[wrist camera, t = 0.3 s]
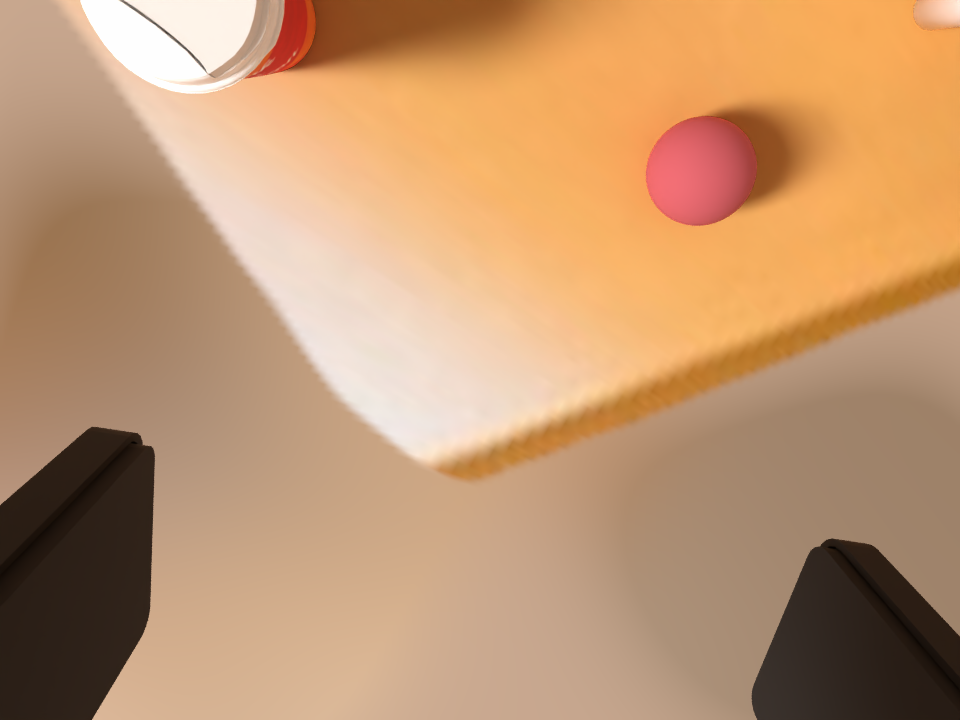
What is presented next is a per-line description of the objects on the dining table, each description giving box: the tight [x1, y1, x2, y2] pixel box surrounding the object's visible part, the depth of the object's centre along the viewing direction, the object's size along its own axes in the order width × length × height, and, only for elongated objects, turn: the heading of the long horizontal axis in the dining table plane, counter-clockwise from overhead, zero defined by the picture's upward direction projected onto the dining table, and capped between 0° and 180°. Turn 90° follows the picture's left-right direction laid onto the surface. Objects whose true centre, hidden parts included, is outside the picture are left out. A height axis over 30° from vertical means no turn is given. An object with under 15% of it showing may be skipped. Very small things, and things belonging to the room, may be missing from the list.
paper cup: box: [80, 0, 316, 93], centre depth 32 cm, size 8×8×14 cm
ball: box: [646, 116, 757, 226], centre depth 39 cm, size 6×6×6 cm
